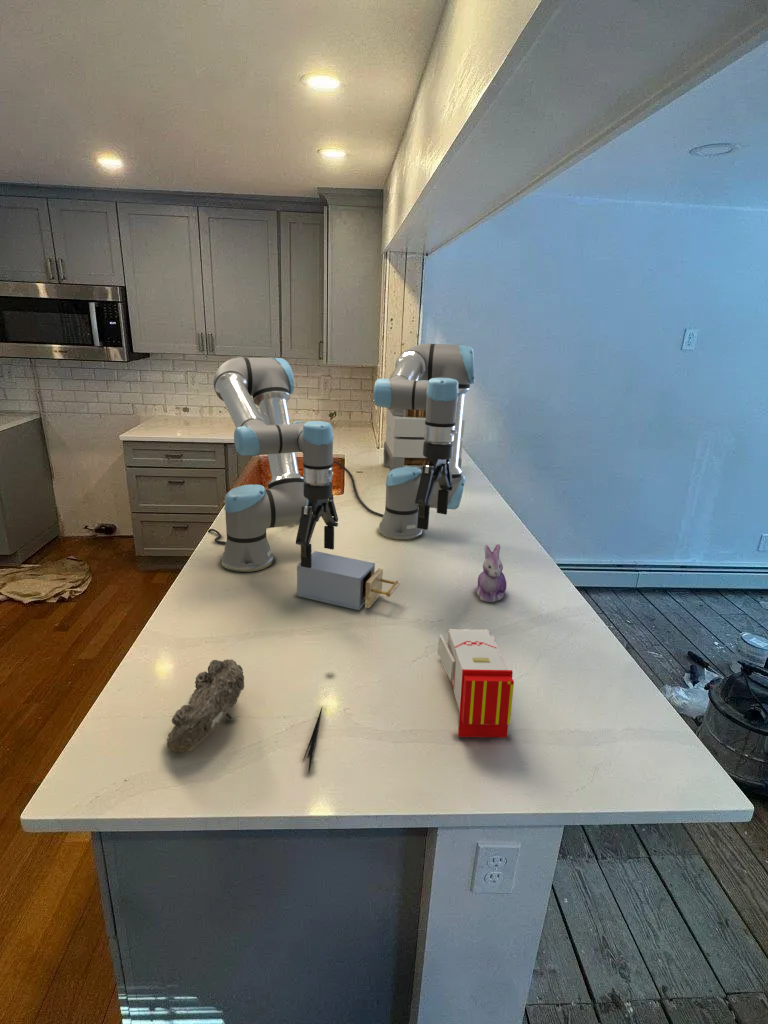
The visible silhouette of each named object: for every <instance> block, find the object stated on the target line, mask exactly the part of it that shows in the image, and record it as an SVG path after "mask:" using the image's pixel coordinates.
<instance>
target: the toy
mask: <svg viewBox="0 0 768 1024" xmlns="http://www.w3.org/2000/svg"><path fill="white" fill-rule="evenodd" d="M446 640H447V643H446V641H445V639H444V636H443V635H442V634H439V637H438V646H437V656H438V657H439V659H440V661H441V663H442V666H443V668H444V670H445V672H446V674H447V677H448V679H449V681H450V684H451V687H452V690H453V693H454V697H455V701H456V705H457V708H458V711H459V714H458V715H459V716H458V730H457V731H458V732H457V737H458V738H508V731H509V726H510V725H511V717H512V707H513V697H514V696H513V695H514V684H515V680H514V679H513V673H514V671H513V670H512V669H508V667H507V665H506V662H505V661H504V659H503V658H502V655H501V653H500V651H499V649H498V647H497V643H496V639H495V637H494V635H493V634H491V632H490V631H489V629H467V628H466V629H465V628H463V629H461V628H460V629H459V628H448V630H447V639H446Z"/></svg>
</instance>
